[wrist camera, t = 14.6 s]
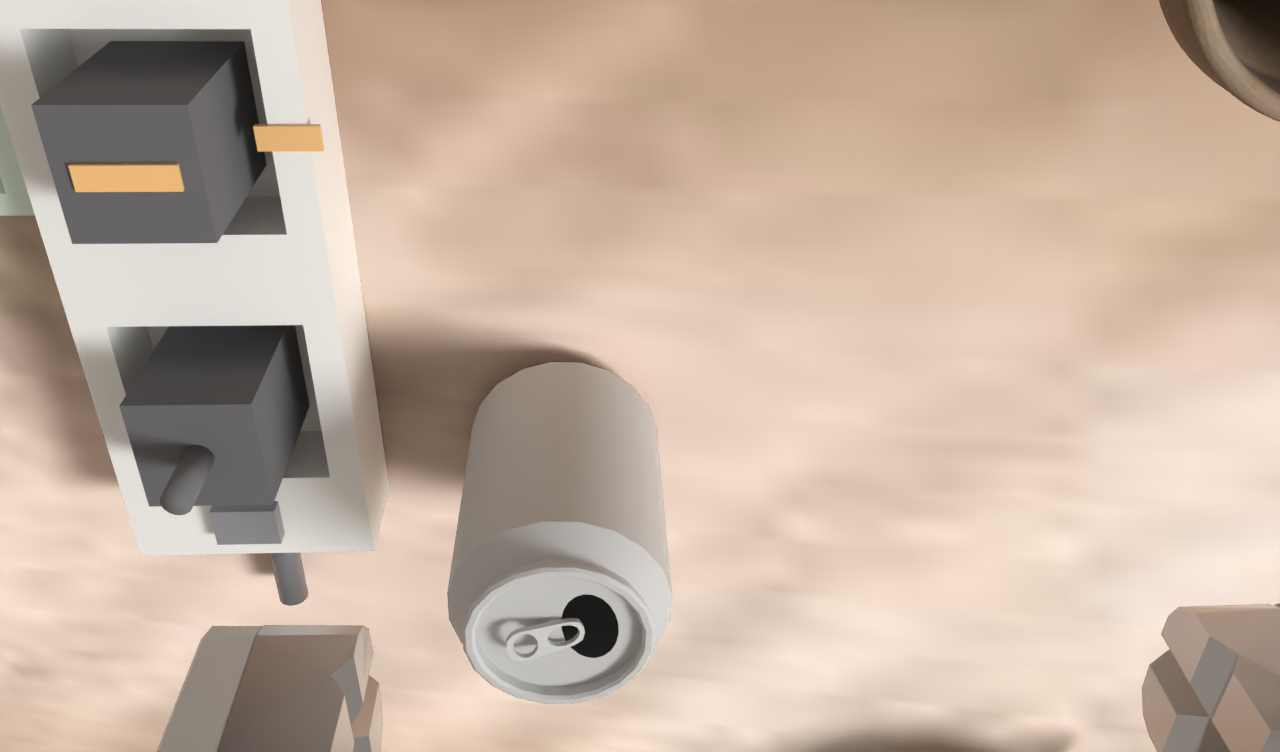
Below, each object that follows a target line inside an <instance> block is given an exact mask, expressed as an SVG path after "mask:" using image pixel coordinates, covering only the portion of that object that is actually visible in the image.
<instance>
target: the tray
mask: <svg viewBox="0 0 1280 752" xmlns="http://www.w3.org/2000/svg"><path fill="white" fill-rule="evenodd" d="M0 216H35V214H34V211H33V207H32V204H31V201H30V198H29V195H28V191H27V188H26V185H25V182H24V178H23V175H22V172H21V169H20V166H19V162H18V159H17V156H16V153H15V150H14V146H13V143H12V140H11V137H10V133H9V130H8V127H7V124H6V121H5V117H4V114H3V111H2V108H1V105H0Z"/></svg>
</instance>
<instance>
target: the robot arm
mask: <svg viewBox="0 0 1280 752" xmlns="http://www.w3.org/2000/svg"><path fill="white" fill-rule="evenodd" d="M1161 635H1162V636H1163V638H1164V640H1165V642H1166V643H1167V645H1168V647H1169V650H1168V651H1167V652H1165V653H1164V654H1163V655H1162V656H1160V657H1159V658H1158V659H1156V660H1155V661H1154V662H1153V663H1151V664H1150V665H1149V668H1148V671H1147V674H1146V677H1145V680H1144V683H1143V687H1142V702H1143V716H1144V720H1145V723H1146V727H1147V730H1148V733H1149V736H1150V738H1151V740H1152V742H1153V744H1154V746H1155V748H1156V750H1157V752H1280V604H1275V605H1270V604H1253V605H1222V606H1191V607H1178V608H1177V609H1176V610H1175V611H1173V612H1172V613H1171V614H1170V615H1169V616H1168V618H1167V621H1166V623H1165V626H1164V628H1163V631H1162V633H1161ZM372 657H373V647H372V642H371V638H370V633H369V628H367V627H365V626H328V625H264V626H212V627H211V628H210V630H209V631H208V632H207V633H206V634H205V635H204V636H203V638H202V639H201V641H200V643H199V646H198V648H197V651H196V653H195V656H194V659H193V661H192V664H191V666H190V669H189V671H188V674H187V676H186V679H185V681H184V684H183V686H182V689H181V691H180V694H179V696H178V699H177V701H176V704H175V706H174V709H173V711H172V714H171V716H170V719H169V722H168V724H167V727H166V729H165V732H164V734H163V737H162V739H161V742H160V744H159V747H158V749H157V752H381V740H382V725H383V720H382V701H381V694H380V688H379V683H378V682H377V681H375V680H374V679H373V678H372V677H371V676H369V672H370V667H371V662H372Z"/></svg>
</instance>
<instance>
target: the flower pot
mask: <svg viewBox="0 0 1280 752" xmlns="http://www.w3.org/2000/svg"><path fill="white" fill-rule="evenodd" d="M1159 2H1160V6H1161V8H1162V11H1163V14H1164V17H1165V19H1166V21H1167V23H1168V25H1169V27H1170V30H1171V31H1172V33H1173V35H1174V37H1175V39H1176V41H1177V42H1178V44H1179V45H1180V46H1181V48H1182V49H1183V50H1184V52H1185V53H1186V54H1187V55H1188V57H1189V58H1190V59H1191V60H1192V61H1193V62H1194V63H1195V64H1196V65H1197V66H1198V67H1199V68H1200V69H1201V70H1202V71H1203V72H1204V73H1205V74H1206V75H1207V76H1208V77H1210V78H1211V79H1212V80H1213V81H1214V82H1216V83H1217V84H1218V85H1220V86H1221V87H1223V88H1224V89H1225V90H1227V91H1228V92H1230V93H1231V94H1232V95H1233V96H1235V97H1236V98H1237V99H1239V100H1240V101H1241V102H1242V103H1244V104H1246V105H1247V106H1249V107H1250V108H1252V109H1254V110H1255V111H1257V112H1259V113H1261V114H1263V115H1265V116H1267V117H1269V118H1272V119H1274V120H1277V121H1279V122H1280V0H1159Z"/></svg>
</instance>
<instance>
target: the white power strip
mask: <svg viewBox="0 0 1280 752" xmlns="http://www.w3.org/2000/svg"><path fill="white" fill-rule="evenodd" d="M110 41H244V43H245V49H246V54H247V60H248V65H249V71H250V76H251V82H252V87H253V93H254V98H255V104H256V109H257V115H258V120H259V124H255V125H254V126H253V129H254V135H255V140H256V145H257V151H258V152H264V154H265V159H266V167H265V168H264V170H263V171H262V173H261V175H260V176H259V178H258V179H257V181H256V183H255V184H254V186H253V187H252V189H251V190H250V192H249V194H248V195H247V197H246V198H245V200H244V202H243V203H242V205H241V206H240V208H239V210H238V211H237V213H236V214H235V216H234V217H233V219H232V221H231V222H230V224H229V225H228V227H227V229H226V230H225V232H224V233H223V235H222V236H221V238H220V240H219V241H218V243H152V244H72V242H71V238H70V235H69V231H68V228H67V225H66V221H65V218H64V214H63V211H62V208H61V204H60V201H59V198H58V194H57V191H56V187H55V184H54V181H53V177H52V174H51V170H50V167H49V164H48V160H47V157H46V154H45V150H44V147H43V143H42V140H41V137H40V133H39V130H38V126H37V123H36V120H35V116H34V113H33V110H32V106H31V105H32V104H33V103H34V102H35V101H37V100H38V99H39V98H40V97H42V96H43V95H44V94H45V93H47V92H48V91H49V90H50V89H52V88H53V87H54V86H55V85H57V84H58V83H59V82H60V81H62V80H63V79H64V78H65V77H67V76H68V75H69V74H70V73H72V72H73V71H74V70H75V69H77V68H78V67H79V66H80V65H81V64H83V63H84V62H85V61H86V60H88V59H89V58H90V57H91V56H93V55H94V54H95V53H96V52H98V51H99V50H100V49H101V48H103V47H104V46H105V45H106V44H108V43H109V42H110ZM0 105H1V108H2V111H3V114H4V117H5V121H6V124H7V127H8V130H9V133H10V137H11V140H12V143H13V146H14V150H15V153H16V156H17V159H18V162H19V166H20V169H21V172H22V175H23V178H24V182H25V185H26V188H27V191H28V195H29V198H30V201H31V204H32V207H33V211H34V214H35V217H36V220H37V223H38V227H39V230H40V233H41V236H42V239H43V243H44V246H45V249H46V252H47V256H48V259H49V262H50V265H51V268H52V272H53V275H54V278H55V281H56V284H57V288H58V291H59V294H60V297H61V301H62V304H63V307H64V310H65V313H66V317H67V320H68V323H69V326H70V329H71V333H72V336H73V339H74V342H75V345H76V349H77V352H78V355H79V358H80V362H81V365H82V368H83V371H84V374H85V378H86V381H87V384H88V387H89V390H90V394H91V397H92V400H93V403H94V407H95V410H96V413H97V416H98V419H99V423H100V426H101V429H102V432H103V435H104V439H105V442H106V445H107V448H108V451H109V455H110V458H111V461H112V464H113V468H114V471H115V474H116V477H117V480H118V484H119V487H120V490H121V493H122V496H123V500H124V503H125V506H126V509H127V513H128V516H129V519H130V522H131V525H132V529H133V532H134V535H135V538H136V541H137V545H138V548H139V551H140V554H141V555H187V554H244V553H270V558H271V562H272V567H273V571H274V576H275V580H276V584H277V589H278V593H279V598H280V601H281V602H282V603H283V604H285V605H297V604H299V603H301V602H303V601H304V600H305V599H306V598H307V596H308V589H307V585H306V580H305V575H304V570H303V565H302V560H301V555H300V553H302V552H359V551H374V550H375V545H376V541H377V537H378V533H379V528H380V524H381V520H382V516H383V512H384V507H385V503H386V499H387V495H388V491H389V481H388V474H387V467H386V460H385V453H384V446H383V439H382V432H381V425H380V417H379V410H378V403H377V396H376V389H375V382H374V375H373V368H372V361H371V354H370V347H369V339H368V332H367V325H366V318H365V311H364V304H363V297H362V290H361V283H360V276H359V269H358V261H357V254H356V247H355V240H354V233H353V226H352V219H351V212H350V205H349V198H348V190H347V183H346V176H345V169H344V162H343V155H342V148H341V141H340V134H339V127H338V120H337V112H336V105H335V98H334V91H333V84H332V77H331V70H330V63H329V56H328V49H327V42H326V34H325V27H324V20H323V13H322V6H321V0H0ZM254 325H295V328H296V334H297V339H298V345H299V350H300V356H301V361H302V367H303V372H304V378H305V383H306V389H307V394H308V400H309V405H310V406H309V409H308V412H307V414H306V417H305V420H304V422H303V425H302V428H301V431H300V433H299V436H298V439H297V441H296V444H295V447H294V449H293V452H292V455H291V458H290V460H289V463H288V466H287V468H286V471H285V474H284V476H283V479H282V482H281V485H280V487H279V490H278V493H277V495H276V498H275V501H274V504H273V505H219V506H193V508H192V510H191V511H190V512H189V513H187V514H185V515H174V514H171V513H169V512H167V511H165V510H164V509H163V508H162V506H155V507H149V505H148V501H147V498H146V494H145V491H144V488H143V484H142V481H141V478H140V474H139V471H138V467H137V464H136V461H135V457H134V454H133V451H132V447H131V444H130V440H129V437H128V434H127V430H126V427H125V424H124V420H123V417H122V413H121V410H120V407H119V405H120V404H121V402H122V401H123V399H124V397H125V396H126V394H127V393H128V391H129V389H130V388H131V386H132V385H133V383H134V381H135V380H136V378H137V377H138V375H139V373H140V372H141V370H142V369H143V367H144V365H145V364H146V362H147V361H148V359H149V357H150V356H151V354H152V353H153V351H154V349H155V348H156V346H157V345H158V343H159V341H160V340H161V338H162V337H163V335H164V333H165V332H166V330H167V329H168V327H169V326H254Z"/></svg>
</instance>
